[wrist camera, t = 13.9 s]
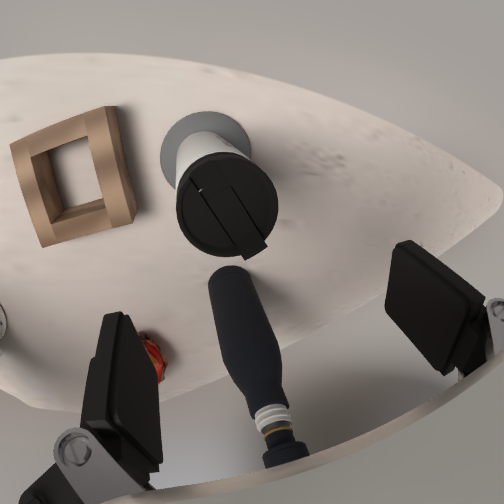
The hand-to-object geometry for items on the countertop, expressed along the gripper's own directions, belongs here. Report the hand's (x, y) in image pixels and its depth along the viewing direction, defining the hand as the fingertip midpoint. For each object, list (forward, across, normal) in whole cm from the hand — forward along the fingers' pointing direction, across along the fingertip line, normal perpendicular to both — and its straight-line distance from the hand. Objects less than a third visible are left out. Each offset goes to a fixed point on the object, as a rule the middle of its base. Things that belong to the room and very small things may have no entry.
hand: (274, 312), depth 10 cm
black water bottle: (+30, -1, +19) cm, 35 cm away
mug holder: (+30, +15, -2) cm, 33 cm away
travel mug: (+29, 0, 0) cm, 29 cm away
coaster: (+29, -1, 0) cm, 29 cm away
